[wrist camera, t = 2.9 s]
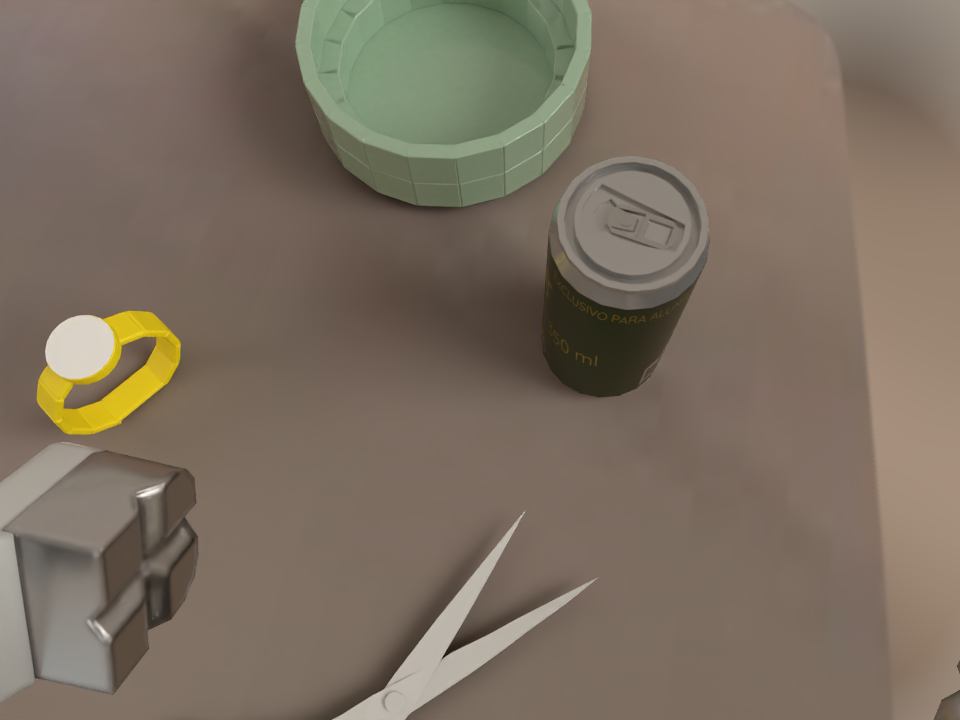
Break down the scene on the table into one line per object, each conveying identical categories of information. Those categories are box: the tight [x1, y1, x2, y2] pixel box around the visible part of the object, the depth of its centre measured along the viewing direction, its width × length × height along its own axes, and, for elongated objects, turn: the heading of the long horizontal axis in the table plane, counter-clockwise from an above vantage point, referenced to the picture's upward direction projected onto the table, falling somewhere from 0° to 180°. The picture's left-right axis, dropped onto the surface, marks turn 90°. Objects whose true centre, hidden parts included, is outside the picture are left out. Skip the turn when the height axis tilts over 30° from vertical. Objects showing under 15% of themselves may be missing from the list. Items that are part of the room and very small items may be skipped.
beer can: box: [542, 156, 710, 397], centre depth 34 cm, size 5×5×12 cm
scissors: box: [332, 511, 597, 720], centre depth 35 cm, size 11×1×20 cm
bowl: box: [295, 0, 592, 207], centre depth 42 cm, size 13×13×5 cm
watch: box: [37, 311, 181, 434], centre depth 37 cm, size 6×3×6 cm, turn 135°
